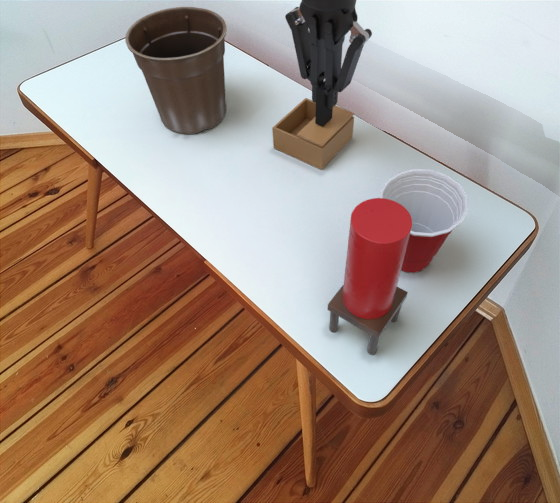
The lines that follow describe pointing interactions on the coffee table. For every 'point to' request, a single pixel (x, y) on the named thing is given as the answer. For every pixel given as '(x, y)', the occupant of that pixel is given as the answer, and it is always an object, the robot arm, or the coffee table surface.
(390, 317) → the stool
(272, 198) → the coffee table surface
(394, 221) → the can
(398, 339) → the coffee table surface
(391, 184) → the plastic cup
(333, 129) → the flap
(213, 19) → the plant pot
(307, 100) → the carton
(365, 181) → the coffee table surface
